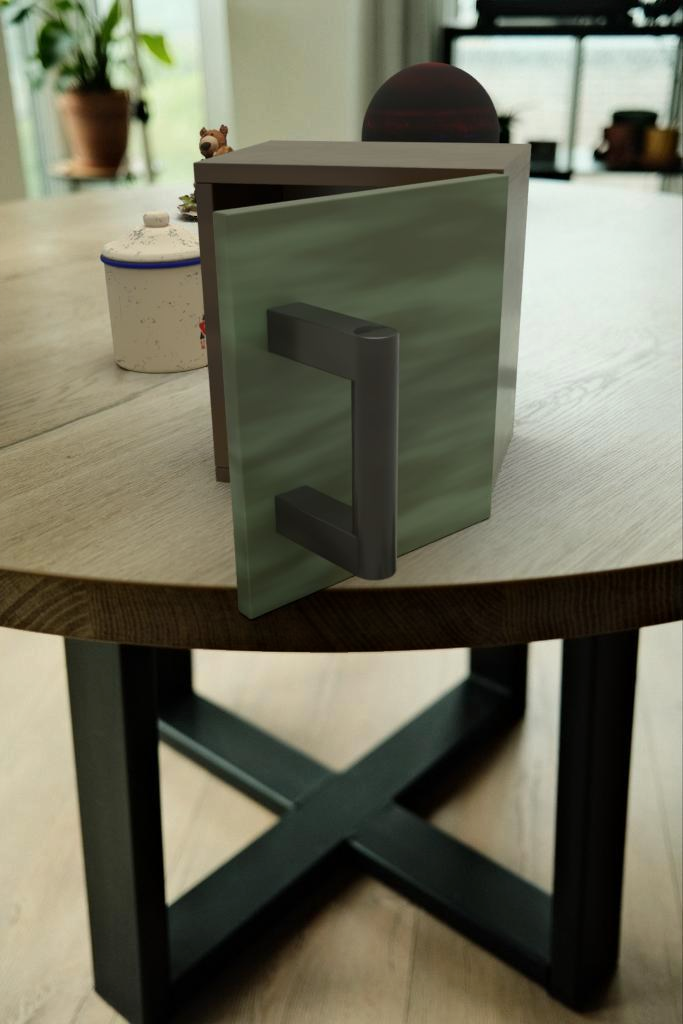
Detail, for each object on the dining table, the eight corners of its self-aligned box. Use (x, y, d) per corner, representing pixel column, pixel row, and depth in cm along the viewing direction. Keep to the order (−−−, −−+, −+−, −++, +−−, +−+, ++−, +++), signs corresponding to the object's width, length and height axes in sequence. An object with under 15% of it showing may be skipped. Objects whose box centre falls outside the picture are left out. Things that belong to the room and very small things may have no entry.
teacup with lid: (229, 371, 80) (219, 218, 75) (111, 379, 78) (93, 224, 73) (217, 332, 90) (208, 196, 86) (113, 338, 89) (97, 200, 84)
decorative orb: (477, 196, 162) (483, 59, 154) (511, 216, 144) (520, 62, 136) (353, 200, 160) (352, 62, 152) (372, 221, 142) (372, 65, 134)
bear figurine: (161, 222, 144) (153, 130, 139) (199, 206, 157) (193, 122, 152) (252, 224, 141) (248, 131, 136) (283, 208, 154) (280, 122, 149)
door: (587, 558, 51) (625, 187, 43) (343, 682, 41) (337, 236, 34) (477, 511, 56) (493, 173, 48) (237, 611, 46) (211, 211, 39)
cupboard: (486, 511, 56) (504, 168, 48) (215, 482, 60) (192, 162, 52) (513, 435, 66) (531, 143, 59) (281, 415, 70) (269, 140, 63)
